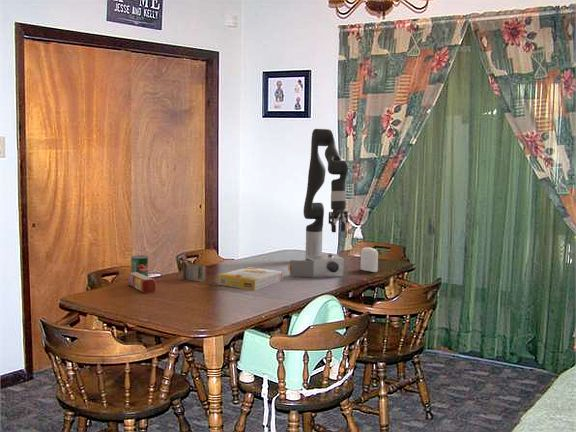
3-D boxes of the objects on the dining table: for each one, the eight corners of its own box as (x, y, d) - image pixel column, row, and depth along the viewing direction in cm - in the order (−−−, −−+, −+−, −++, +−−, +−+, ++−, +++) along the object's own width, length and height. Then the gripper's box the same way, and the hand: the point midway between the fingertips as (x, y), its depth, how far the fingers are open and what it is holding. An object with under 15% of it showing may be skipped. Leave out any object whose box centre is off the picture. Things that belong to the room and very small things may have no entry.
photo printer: (359, 269, 380) (359, 246, 379) (364, 269, 383) (365, 246, 381) (373, 272, 372) (373, 249, 371) (378, 271, 375) (379, 248, 374)
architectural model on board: (182, 280, 345) (182, 260, 345) (185, 279, 348) (185, 259, 347) (201, 282, 340) (201, 262, 339) (205, 281, 343) (205, 261, 342)
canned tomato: (144, 281, 339) (144, 258, 338) (128, 280, 340) (128, 257, 339) (150, 278, 347) (150, 255, 345) (135, 277, 348) (135, 254, 347)
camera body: (305, 272, 368) (305, 253, 367) (334, 271, 373) (335, 252, 372) (314, 278, 354) (315, 258, 353) (344, 276, 359) (345, 257, 358)
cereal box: (217, 274, 331) (247, 265, 356) (216, 286, 332) (247, 276, 357) (255, 279, 322) (283, 270, 347) (254, 291, 323) (283, 281, 348)
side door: (312, 276, 356) (313, 261, 355) (312, 277, 354) (312, 261, 354) (288, 275, 359) (288, 259, 358) (287, 275, 357) (288, 260, 356)
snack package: (126, 285, 329) (126, 271, 328) (140, 284, 332) (140, 270, 331) (142, 294, 310) (142, 279, 310) (156, 293, 314) (156, 278, 313)
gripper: (339, 199, 371) (340, 231, 371) (324, 200, 360) (324, 232, 360) (352, 199, 366) (352, 231, 367) (336, 200, 355) (336, 232, 356)
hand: (338, 231), depth 363 cm, fingers open, 8 cm apart
